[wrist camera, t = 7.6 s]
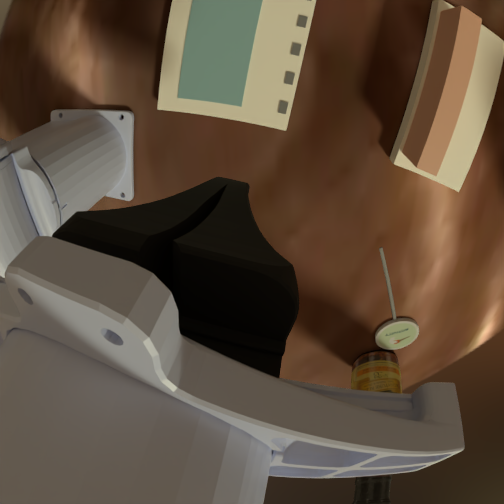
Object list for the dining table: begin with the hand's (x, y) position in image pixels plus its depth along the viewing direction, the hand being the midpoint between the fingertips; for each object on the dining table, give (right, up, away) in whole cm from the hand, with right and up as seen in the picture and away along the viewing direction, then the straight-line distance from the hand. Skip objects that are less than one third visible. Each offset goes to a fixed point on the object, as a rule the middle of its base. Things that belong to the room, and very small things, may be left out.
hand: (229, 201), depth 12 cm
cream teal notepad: (0, +12, +3) cm, 13 cm away
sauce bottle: (+16, -16, +21) cm, 31 cm away
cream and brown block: (+15, +9, +2) cm, 17 cm away
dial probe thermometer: (+15, -7, +15) cm, 22 cm away
